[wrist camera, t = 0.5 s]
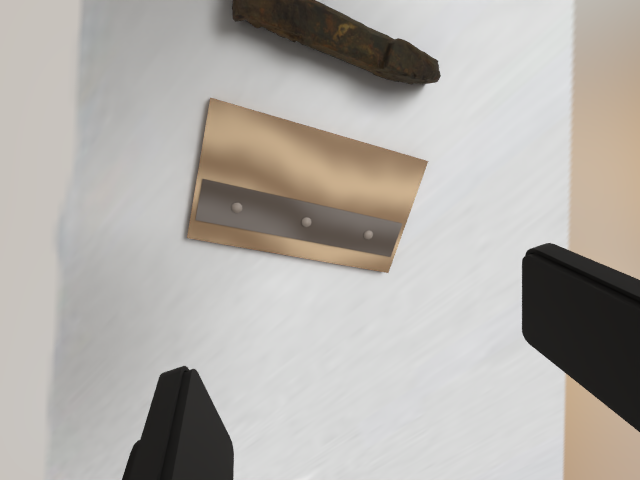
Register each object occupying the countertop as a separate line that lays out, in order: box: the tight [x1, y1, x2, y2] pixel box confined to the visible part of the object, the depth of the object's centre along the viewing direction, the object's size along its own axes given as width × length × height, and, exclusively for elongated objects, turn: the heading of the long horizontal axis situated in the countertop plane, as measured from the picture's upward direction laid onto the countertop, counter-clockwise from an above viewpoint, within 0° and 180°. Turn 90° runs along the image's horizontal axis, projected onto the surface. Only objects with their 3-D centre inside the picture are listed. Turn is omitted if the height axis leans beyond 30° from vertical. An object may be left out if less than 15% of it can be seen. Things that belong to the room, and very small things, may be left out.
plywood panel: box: [187, 98, 428, 273], centre depth 35 cm, size 13×22×1 cm, turn 74°
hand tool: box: [232, 0, 440, 84], centre depth 29 cm, size 19×4×5 cm, turn 69°
